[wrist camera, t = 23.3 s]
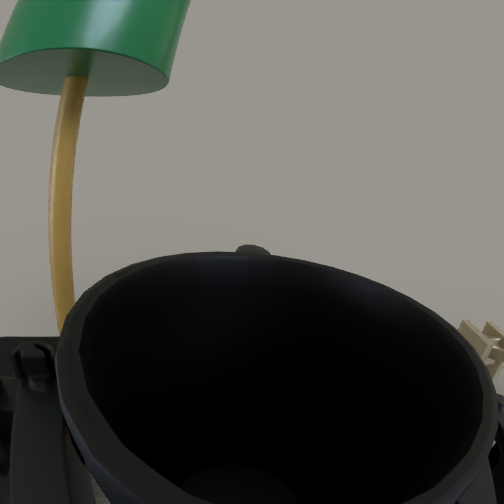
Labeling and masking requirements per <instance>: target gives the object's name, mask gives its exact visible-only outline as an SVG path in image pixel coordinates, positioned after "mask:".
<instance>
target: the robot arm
mask: <svg viewBox="0 0 504 504" xmlns="http://www.w3.org/2000/svg"><path fill="white" fill-rule="evenodd" d="M55 355H56V352H55V350H54V348H53V347H52V346H51V345H50V344H48V343H46V342H43V341H37V340H34V341H26V342H24V343H21V344H19V345H18V346H16V347H15V348H14V349H13V350H12V352H11V353H10V358H11V361H12V364H13V367H14V370H15V372H16V375H17V377H11V376H4V375H0V504H10V502H11V504H96V501H95V497H94V492H93V487H92V483H91V477H90V472H89V468H88V466H87V464H86V462H85V460H84V458H83V456H82V454H81V452H80V450H79V448H78V446H77V444H76V442H75V440H74V438H73V436H72V433H71V431H70V429H69V427H68V424H67V422H66V420H65V417H64V415H63V412H62V410H61V407H60V400H59V393H58V386H57V377H56V367H55ZM497 397H498V429H497V433H496V436H495V439H494V440H495V441H496V443H495V445H494V446H493V447H492V448H491V450H490V452H489V455H488V458H487V460H486V463H485V465H484V467H483V469H482V471H481V473H480V475H479V476H478V477H477V479H476V480H475V481H474V482H473V484H472V485H471V486H470V487H469V488H468V490H467V491H466V492H465V493H464V494H463V495H462V496H461V497H460V499H459V500H458V501H457V502H456V503H455V504H504V396H502V395H500V394H497Z"/></svg>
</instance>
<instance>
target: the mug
mask: <svg viewBox="0 0 504 504" xmlns="http://www.w3.org/2000/svg"><path fill="white" fill-rule="evenodd" d="M55 367H56V377H57V386H58V393H59V400H60V407H61V410H62V412H63V415H64V417H65V420H66V422H67V424H68V427H69V429H70V431H71V433H72V436H73V438H74V440H75V442H76V444H77V446H78V448H79V450H80V452H81V454H82V456H83V458H84V460H85V462H86V464H87V466H88V468H89V469H90V471H91V473H92V475H93V477H94V478H95V480H96V482H97V483H98V485H99V486H100V488H101V489H102V491H103V493H104V494H105V496H106V497H107V498H108V500H109V501H110V503H111V504H455V503H456V502H457V501H458V500H459V499H460V497H461V496H462V495H463V494H464V493H465V492H466V491H467V490H468V488H469V487H470V486H471V485H472V484H473V482H474V481H475V480H476V479H477V477H478V476H479V475H480V473H481V471H482V469H483V467H484V465H485V463H486V460H487V458H488V455H489V452H490V450H491V447H492V444H493V441H494V439H495V436H496V433H497V429H498V397H497V394H496V391H495V387H494V384H493V381H492V378H491V375H490V372H489V370H488V368H487V367H486V365H485V364H484V362H483V360H482V359H481V357H480V356H479V354H478V353H477V351H476V350H475V348H474V347H473V346H472V345H471V344H470V343H469V342H468V341H467V340H466V339H465V337H464V336H463V335H462V334H461V333H460V332H459V331H458V330H457V329H456V328H455V327H453V326H452V325H451V324H449V323H448V322H447V321H445V320H444V319H443V318H442V317H440V316H439V315H438V314H436V313H435V312H434V311H432V310H430V309H429V308H427V307H425V306H424V305H422V304H420V303H419V302H417V301H415V300H413V299H412V298H410V297H408V296H406V295H404V294H402V293H400V292H398V291H396V290H394V289H391V288H389V287H387V286H385V285H383V284H380V283H378V282H375V281H372V280H370V279H367V278H365V277H362V276H359V275H356V274H353V273H350V272H347V271H343V270H340V269H337V268H334V267H330V266H326V265H322V264H317V263H313V262H309V261H305V260H299V259H293V258H287V257H281V256H275V255H271V254H270V252H268V251H267V250H265V249H264V248H262V247H259V246H256V245H243V246H240V247H238V249H237V250H236V252H199V253H198V252H197V253H184V254H177V255H170V256H163V257H157V258H153V259H150V260H146V261H142V262H139V263H135V264H131V265H129V266H127V267H125V268H122V269H120V270H118V271H116V272H113V273H111V274H109V275H107V276H105V277H104V278H103V279H101V280H100V281H98V282H97V283H96V284H94V285H93V286H92V287H90V288H89V289H88V290H86V291H85V292H84V293H83V294H82V295H81V297H80V298H79V300H78V301H77V302H76V303H75V305H74V306H73V307H72V309H71V310H70V311H69V313H68V314H67V315H66V317H65V321H64V324H63V327H62V331H61V334H60V338H59V341H58V345H57V349H56V355H55Z"/></svg>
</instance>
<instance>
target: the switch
mask: <svg viewBox="0 0 504 504" xmlns="http://www.w3.org/2000/svg"><path fill="white" fill-rule="evenodd" d="M484 335H485V334H484ZM485 336H486V337H487V338H488V339H489V340H490V341H491V342H492V343H493V344H494V346H493V348H492V350H491V351H490V353H489V355H488V357H487V359H486V361H485V363H484V364H485V365H489V364H495V360H496V361H499V362H501V363H504V349H503V348H500V347H499V344H500V340H501V339H500V338H496V337H493V336H489V335H485Z"/></svg>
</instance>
